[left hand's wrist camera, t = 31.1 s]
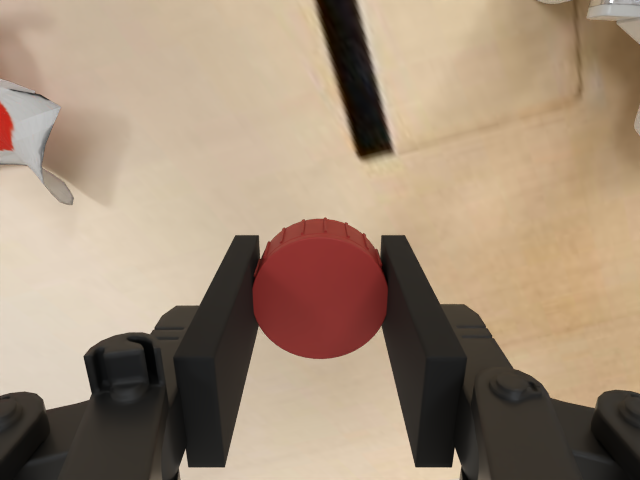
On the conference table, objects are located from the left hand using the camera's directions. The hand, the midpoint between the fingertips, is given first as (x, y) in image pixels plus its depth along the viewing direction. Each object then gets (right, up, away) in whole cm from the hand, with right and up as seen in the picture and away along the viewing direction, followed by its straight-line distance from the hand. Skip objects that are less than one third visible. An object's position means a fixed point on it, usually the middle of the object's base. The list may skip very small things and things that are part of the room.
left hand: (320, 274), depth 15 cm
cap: (0, -1, -1) cm, 1 cm away
